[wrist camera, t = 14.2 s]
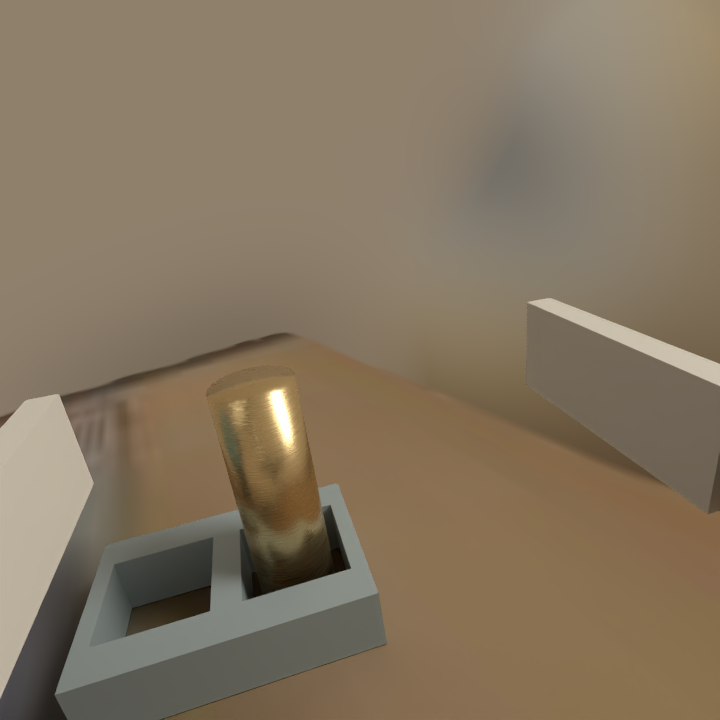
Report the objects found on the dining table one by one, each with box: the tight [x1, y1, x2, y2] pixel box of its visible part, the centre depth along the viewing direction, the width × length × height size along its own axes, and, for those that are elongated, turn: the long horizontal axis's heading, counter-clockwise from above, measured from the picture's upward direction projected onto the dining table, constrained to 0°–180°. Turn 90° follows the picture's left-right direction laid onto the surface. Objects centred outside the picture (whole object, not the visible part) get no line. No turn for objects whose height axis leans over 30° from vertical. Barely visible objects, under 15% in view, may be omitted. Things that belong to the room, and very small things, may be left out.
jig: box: [55, 483, 387, 720], centre depth 28 cm, size 15×10×4 cm, turn 105°
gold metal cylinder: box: [206, 366, 335, 595], centre depth 27 cm, size 4×4×14 cm
